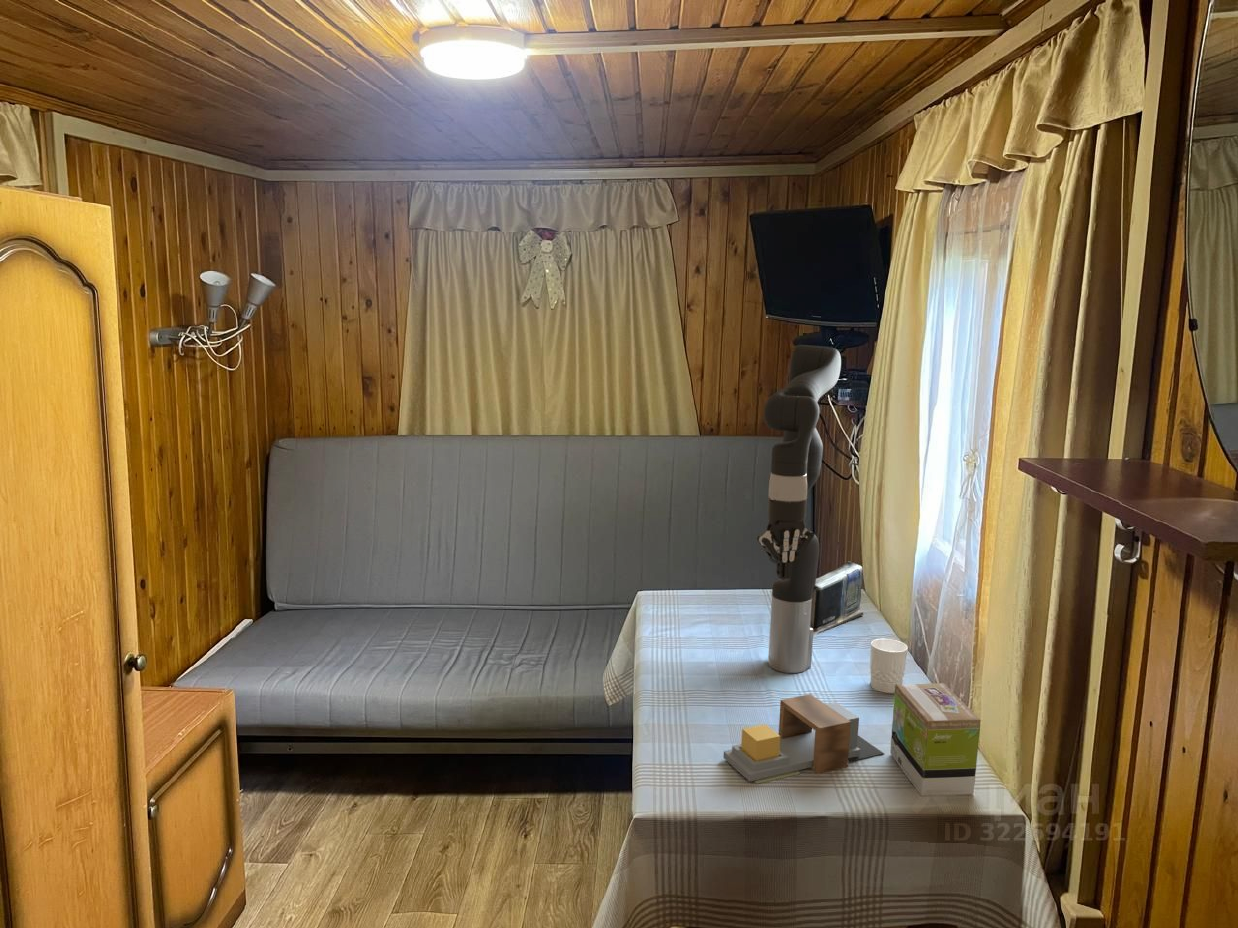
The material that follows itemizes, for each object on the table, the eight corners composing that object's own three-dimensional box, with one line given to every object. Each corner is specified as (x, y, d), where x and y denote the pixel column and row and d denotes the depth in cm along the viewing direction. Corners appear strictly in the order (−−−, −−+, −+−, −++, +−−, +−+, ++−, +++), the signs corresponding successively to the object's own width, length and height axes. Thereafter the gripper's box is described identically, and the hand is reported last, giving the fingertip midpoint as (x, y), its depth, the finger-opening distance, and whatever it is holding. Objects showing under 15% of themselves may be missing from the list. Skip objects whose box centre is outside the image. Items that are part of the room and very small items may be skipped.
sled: (830, 734, 176) (832, 699, 174) (859, 755, 168) (862, 719, 166) (723, 757, 166) (725, 721, 164) (749, 781, 158) (751, 743, 156)
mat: (768, 748, 170) (768, 747, 170) (799, 773, 161) (799, 772, 161) (728, 757, 167) (728, 756, 167) (757, 783, 158) (757, 782, 158)
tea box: (887, 754, 169) (893, 681, 167) (938, 753, 170) (945, 681, 168) (920, 797, 155) (927, 718, 152) (975, 796, 156) (983, 717, 153)
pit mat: (850, 730, 178) (850, 729, 178) (883, 754, 169) (883, 753, 169) (817, 737, 175) (817, 736, 175) (850, 761, 166) (850, 760, 166)
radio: (812, 635, 229) (816, 580, 227) (787, 625, 236) (790, 572, 233) (869, 618, 243) (873, 566, 240) (844, 609, 250) (848, 558, 247)
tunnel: (807, 736, 176) (810, 694, 174) (847, 766, 164) (851, 721, 163) (778, 742, 173) (780, 699, 171) (816, 773, 162) (819, 728, 160)
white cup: (906, 683, 201) (909, 642, 199) (901, 697, 194) (905, 654, 192) (870, 677, 204) (874, 636, 203) (864, 690, 197) (868, 647, 196)
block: (763, 748, 167) (765, 723, 166) (778, 761, 162) (780, 735, 161) (740, 753, 165) (742, 728, 164) (755, 766, 160) (756, 740, 159)
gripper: (803, 488, 183) (799, 569, 186) (749, 494, 177) (746, 577, 180) (826, 496, 176) (821, 579, 179) (771, 502, 170) (767, 588, 174)
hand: (783, 578), depth 180 cm, fingers closed
